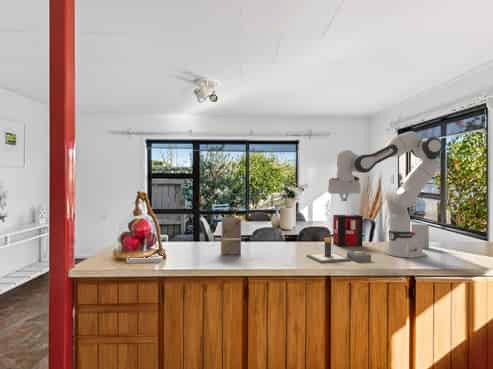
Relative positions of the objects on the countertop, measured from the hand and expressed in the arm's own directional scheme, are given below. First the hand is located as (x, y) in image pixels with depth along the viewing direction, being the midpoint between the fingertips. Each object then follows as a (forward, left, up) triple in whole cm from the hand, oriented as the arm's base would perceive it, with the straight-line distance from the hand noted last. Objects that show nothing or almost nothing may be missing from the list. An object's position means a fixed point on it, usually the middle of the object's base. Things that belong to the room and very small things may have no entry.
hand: (344, 201), depth 204 cm
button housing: (+1, +16, -31) cm, 35 cm away
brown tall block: (+65, -16, -32) cm, 74 cm away
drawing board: (+16, +9, -31) cm, 36 cm away
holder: (+109, -32, -32) cm, 118 cm away
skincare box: (-59, -2, -31) cm, 67 cm away
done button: (+1, +16, -30) cm, 34 cm away
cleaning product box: (-18, -22, -31) cm, 42 cm away
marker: (+16, +9, -30) cm, 35 cm away
